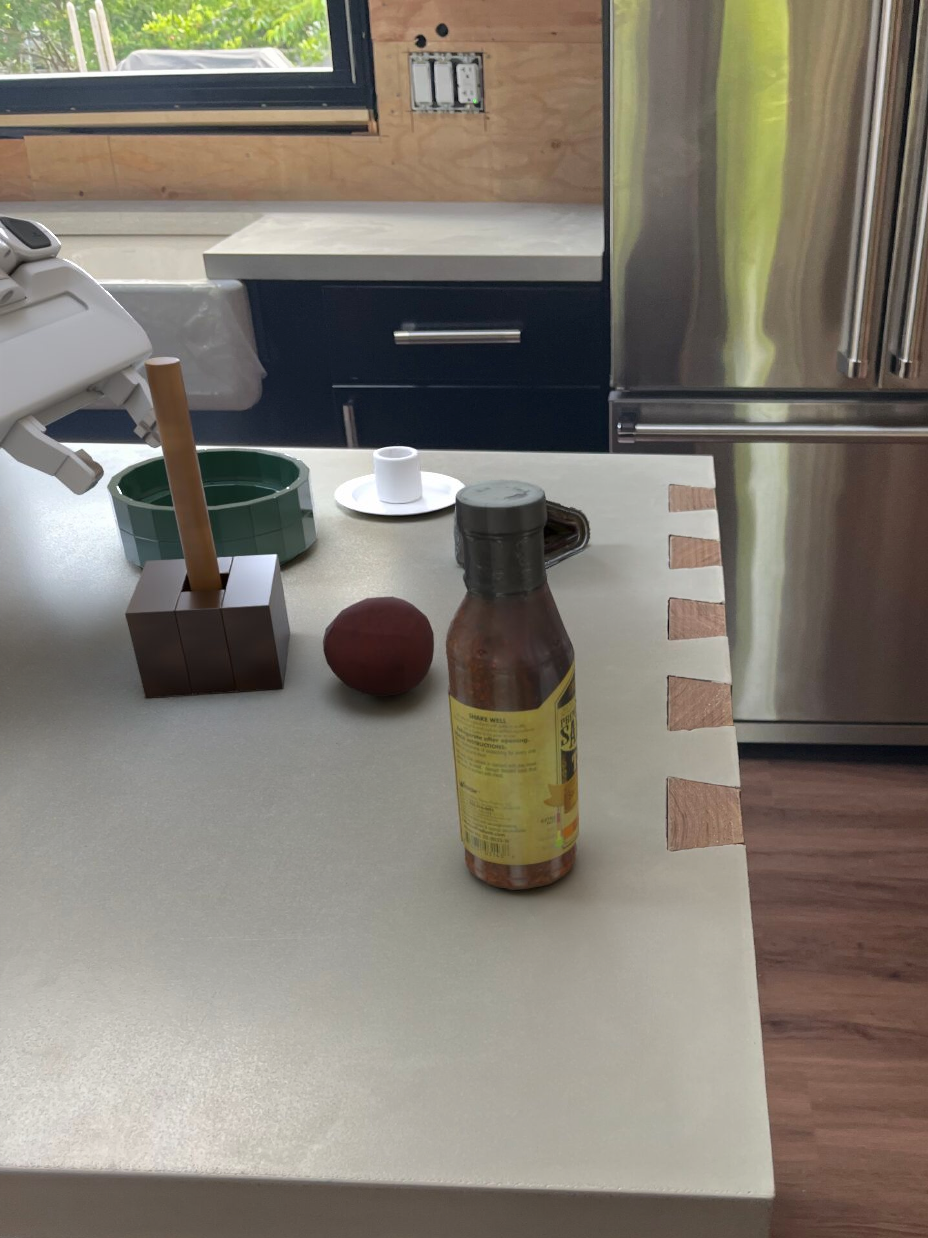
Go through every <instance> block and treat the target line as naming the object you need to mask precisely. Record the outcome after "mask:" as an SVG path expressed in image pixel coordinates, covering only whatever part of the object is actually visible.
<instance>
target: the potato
mask: <svg viewBox="0 0 928 1238" xmlns="http://www.w3.org/2000/svg"><path fill="white" fill-rule="evenodd" d="M322 649H323V655H324V658H325V661H326V664H327V665H328V667H329V669H330V670H331V672H333V674H334V675H335V676H336V678H338V679H339V680H340V681H341V682H342V683H343V684H344V685H345V686H347V687H348V688H349V689H351V690H354V691H356V692H358V693H360V694H362V695H365V696H375V697H386V696H395V695H396V696H397V695H400V694H403V693H406V692H409V691H411V690H413V689H414V688H416V687H417V686H419V685H420V684H421V682H422V681H423V680H424V679H425V678H426V677H427V675H428V674H429V671H430V669H431V666H432V663H433V660H434V652H435V634H434V631H433V628H432V625H431V622H430V620H429V618H428V616H427V615H426V614H425V613H423V611H421V610H420V609H419V608H418V607H417V606H415V605H414V604H413V603H411V602H409V601H408V600H405V599H403V598H399V597H397V596H396V597H395V596H380V597H379V596H377V597H366V598H364V599H361V600H360V601H357V602H355V603H353V604H351V605H349V606H347V607H346V608H344V609H342V610H340V612H339V613H338V614H337V615H336V616H335V617H334V619H332V620H331V622H330V623H329V624H328V625H327V627H325V630H324V635H323V639H322Z"/></svg>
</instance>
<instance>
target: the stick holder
mask: <svg viewBox="0 0 928 1238" xmlns="http://www.w3.org/2000/svg"><path fill="white" fill-rule="evenodd" d="M217 561H218V567H219V572H220V577H221V583H222V588H223V590H210V591H192V592H191V588H190V583H189V578H188V573H187V569H186V564H185V559H173V560H154V561H146V563H145V566H144V568H142V570H141V574H140V576H139V578H138V580H137V583H136V585H135V587H134V591H133V593H132V596H131V598H130V600H129V602H128V605H127V608H126V610H125V613H124V616H125V620H126V624H127V628H128V633H129V637H130V640H131V645H132V649H133V653H134V656H135V662H136V665H137V669H138V674H139V678H140V683H141V687H142V690H143V694H144V698H145V699H151V698H164V697H165V698H166V697H179V696H180V697H182V696H192V695H194V696H196V695H209V694H211V695H212V694H224V693H236V692H237V693H238V692H239V693H240V692H253V691H268V690H282V689H284V683H285V675H286V669H287V668H286V667H287V660H288V653H289V646H290V645H289V643H290V637H291V627H290V623H289V617H288V610H287V604H286V603H287V602H286V597H285V590H284V585H283V579H282V573H281V572H282V571H281V565H279V559H278V554H273V555H253V556H234V558H233V557H217Z"/></svg>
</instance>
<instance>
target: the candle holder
mask: <svg viewBox="0 0 928 1238" xmlns="http://www.w3.org/2000/svg"><path fill="white" fill-rule="evenodd" d="M372 463H373V471H374V473H372V474H367V475H363V476H359V477H356V478H353V479H351V480H348V481H346V482H345V483H343V484H341V485H339V487H338V488H337V489H335V492H334V499H335V500H336V502H337V503H338V504H340V506H343V507H344V508H347V509H350V510H352V511H355V512H360V513H364V514H371V515H379V516H382V515H383V516H411V515H412V516H414V515H420V514H425V513H430V512H434V511H438V510H441V509H442V510H443V509H445V508H447V507H450V506H452V505H455V504H456V501H455V497H456V494H457V492H458V491H459V490H460V489H462V488H464V487H466V485H465V484H464V483H463V482H462V481H460V480H459V479H457V478H454V477H452V476H449V475H446V474H442V473H437V472H430V471H421V458H420V452H419V451H418V450H417V449H416V448H414V447H411V446H403V445H401V446H400V445H398V446H397V445H394V446H386V447H382V448H381V447H380V448H379V449H377V450H375V451H374V452H373V454H372Z"/></svg>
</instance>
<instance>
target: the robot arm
mask: <svg viewBox="0 0 928 1238" xmlns="http://www.w3.org/2000/svg"><path fill="white" fill-rule="evenodd" d="M61 248H62V244H61V242H60V240H59V239H58V238H57V237H56V236H55V235H54V234H53V233H52V232H51V231H50V230H49V229H48V228H47V227H45V225H43V224H41V223H39V222H38V221H35V220H32V219H26V218H21V217H14V216H9V215H5V214H1V213H0V450H1V449H3V450H4V452H6V453H7V454H8V455H10V457H12V458H13V459H14V460H15V461H16V462H17V463H20V464H23V465H25V466H27V467H29V468H31V469H35V470H36V471H39V472H40V473H41V472H42V473H43V474H46V475H49V476H51V477H55V478H56V479H57V480H58V481H59V482H60V483H62V485H64V486H65V487H66V488H67V489H68V490H70V491H71V492H72V493H73V494H74V495H77V496H82V495H84V494H86V493H88V492H89V491H90V490H92V489H94V488H95V487H96V486H97V484H98V483H99V482H100V480H101V479H102V478H103V477H104V476H105V471H104V468H103V466H102V465H101V464H100V463H99V462H97V461H95V460H94V459H93V458H92V456H91V455H90V454H89V452H87V451H86V450H84V449H83V448H80V449H78V450H76V451H74V450H73V449H70V448H69V447H67V446H66V445H64V444H62V443H60V442H59V441H57V440H55V439H53V438H52V437H50V436H48V435H47V434H45V433H46V432H47V427H46V426H48V425H50V424H52V423H55V422H56V421H58V420H60V419H62V418H64V417H66V416H69V415H70V414H72V413H74V412H76V411H78V410H80V409H82V408H84V407H86V406H88V405H90V404H92V403H94V402H96V401H98V400H100V399H102V398H104V397H106V398H108V399H109V400H110V401H111V402H112V403H113V404H114V405H115V406H116V407H119V408H120V407H124V408H125V410H126V411H127V413H128V415H129V416H130V417H131V419H132V420H133V422H134V423H135V424H136V427H135V428H134V429H133V432H134V434H136V435H137V436H138V437H139V438H140V439H142V440H144V441H145V443H146V445H148V446H149V447H150V448H152V449H157V448H160V447H161V442H160V437H159V432H158V427H157V423H156V418H155V413H154V408H153V403H152V398H151V393H150V389H149V384H148V381H147V380H146V379H145V378H144V377H143V376H141V374H140V372H141V371H142V370H143V368H145V364H144V362H145V361H146V360H148V359H151V357H152V355H153V353H154V349H153V345H152V343H151V340H150V338H149V337H148V335H147V333H146V331H145V330H144V329H143V327H142V326H141V325H140V324H139V322H137V321H136V319H135V318H134V317H133V316H131V314H130V313H129V312H128V311H127V310H126V309H125V308H124V307H123V306H122V305H121V304H120V303H119V302H118V301H117V300H116V299H115V298H114V297H113V296H112V295H111V294H110V293H109V292H108V291H107V290H106V289H105V288H104V287H103V286H102V285H101V284H100V283H99V282H98V281H97V280H96V279H94V278H93V277H92V276H91V274H89V273H88V272H86V271H85V270H84V269H83V268H81V267H80V266H78V264H75V263H74V262H72V261H70V260H68V259H65V258H63V257H57V256H58V254H59V252H60V251H61Z"/></svg>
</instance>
